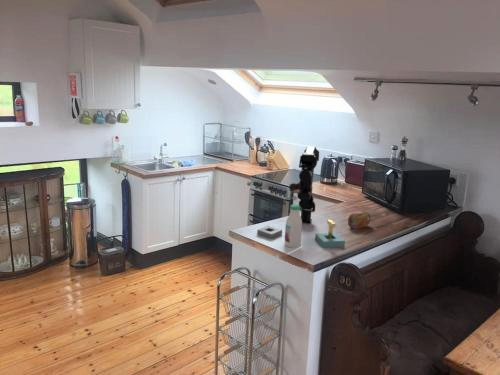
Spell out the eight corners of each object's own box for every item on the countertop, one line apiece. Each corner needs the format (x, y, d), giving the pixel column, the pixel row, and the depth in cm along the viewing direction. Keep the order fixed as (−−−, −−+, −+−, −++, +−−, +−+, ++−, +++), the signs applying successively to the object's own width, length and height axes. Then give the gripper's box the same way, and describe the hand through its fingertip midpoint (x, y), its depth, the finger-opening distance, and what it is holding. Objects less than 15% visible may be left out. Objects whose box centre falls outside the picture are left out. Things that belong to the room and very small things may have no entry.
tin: (350, 229, 232) (351, 215, 230) (346, 228, 235) (347, 213, 233) (369, 226, 240) (371, 211, 238) (365, 224, 243) (367, 210, 241)
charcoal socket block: (267, 231, 225) (267, 225, 224) (281, 235, 219) (282, 229, 218) (257, 235, 218) (257, 229, 217) (271, 240, 212) (271, 234, 212)
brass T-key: (325, 239, 215) (327, 219, 212) (329, 239, 215) (331, 219, 213) (330, 244, 209) (331, 223, 206) (333, 244, 209) (335, 223, 207)
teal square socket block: (315, 239, 216) (315, 233, 215) (335, 238, 218) (336, 232, 218) (323, 247, 206) (323, 241, 205) (344, 246, 208) (345, 240, 207)
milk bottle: (301, 243, 209) (304, 204, 204) (299, 249, 202) (302, 208, 197) (285, 241, 211) (288, 202, 206) (283, 247, 203) (285, 206, 198)
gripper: (292, 173, 230) (290, 201, 234) (288, 180, 212) (286, 210, 216) (313, 175, 228) (311, 203, 232) (311, 182, 210) (308, 213, 214)
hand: (304, 207), depth 223 cm, fingers open, 9 cm apart
